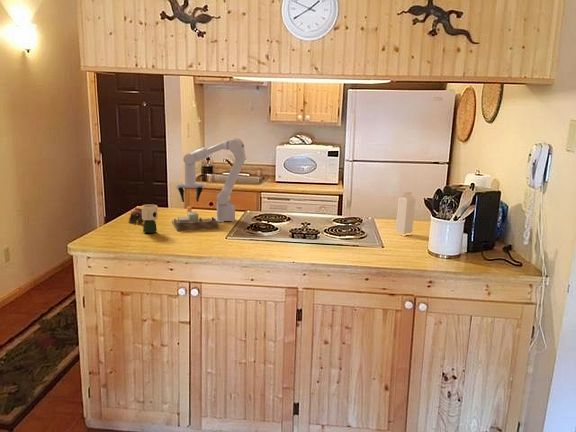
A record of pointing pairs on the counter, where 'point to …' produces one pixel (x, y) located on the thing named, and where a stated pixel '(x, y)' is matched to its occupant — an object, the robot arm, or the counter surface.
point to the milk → (405, 213)
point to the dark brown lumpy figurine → (136, 216)
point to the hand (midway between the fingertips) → (190, 201)
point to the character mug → (149, 218)
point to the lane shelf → (196, 225)
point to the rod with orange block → (192, 215)
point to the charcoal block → (183, 219)
